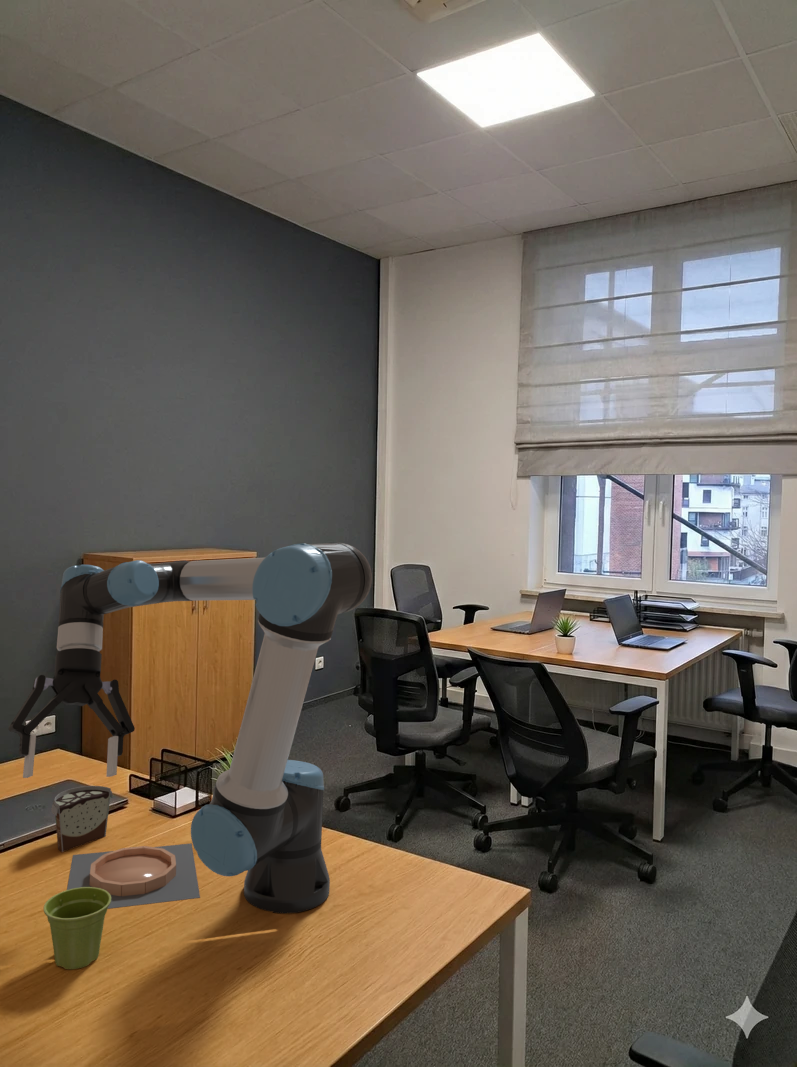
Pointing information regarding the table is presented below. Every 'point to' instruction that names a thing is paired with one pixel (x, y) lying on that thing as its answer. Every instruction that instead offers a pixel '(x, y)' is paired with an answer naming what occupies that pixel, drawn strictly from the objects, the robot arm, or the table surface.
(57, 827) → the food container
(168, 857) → the saucer
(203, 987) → the table surface
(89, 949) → the plant pot
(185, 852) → the desk mat
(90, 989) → the table surface
